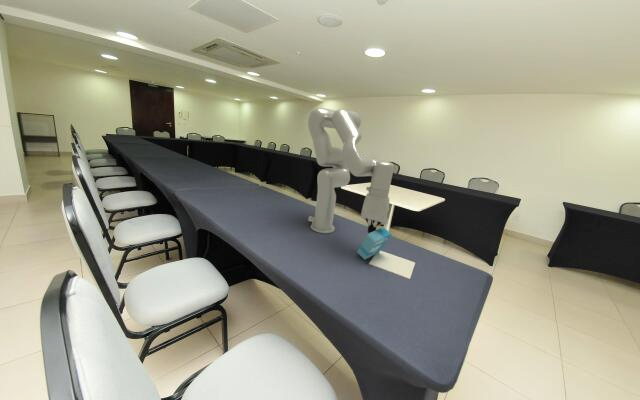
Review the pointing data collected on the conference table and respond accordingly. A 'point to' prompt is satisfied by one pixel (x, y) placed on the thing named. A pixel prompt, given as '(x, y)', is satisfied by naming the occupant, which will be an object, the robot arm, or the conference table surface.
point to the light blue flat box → (373, 243)
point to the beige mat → (393, 264)
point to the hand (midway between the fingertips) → (371, 233)
